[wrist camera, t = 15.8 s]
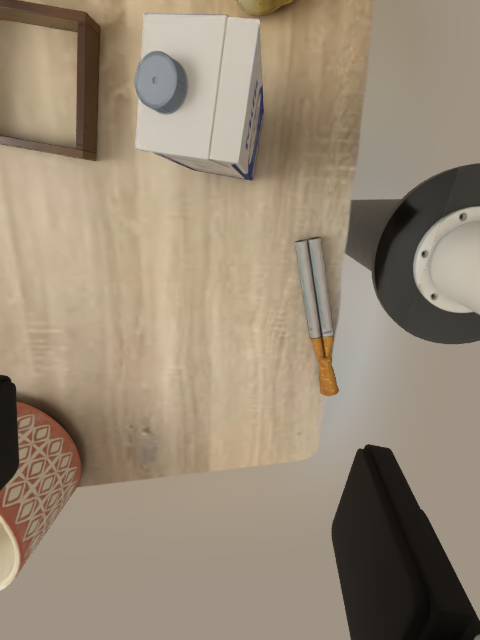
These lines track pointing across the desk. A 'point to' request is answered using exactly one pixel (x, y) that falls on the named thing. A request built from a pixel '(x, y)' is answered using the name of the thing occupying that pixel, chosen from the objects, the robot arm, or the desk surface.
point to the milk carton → (201, 92)
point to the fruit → (261, 6)
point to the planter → (35, 488)
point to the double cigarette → (325, 366)
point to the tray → (5, 5)
